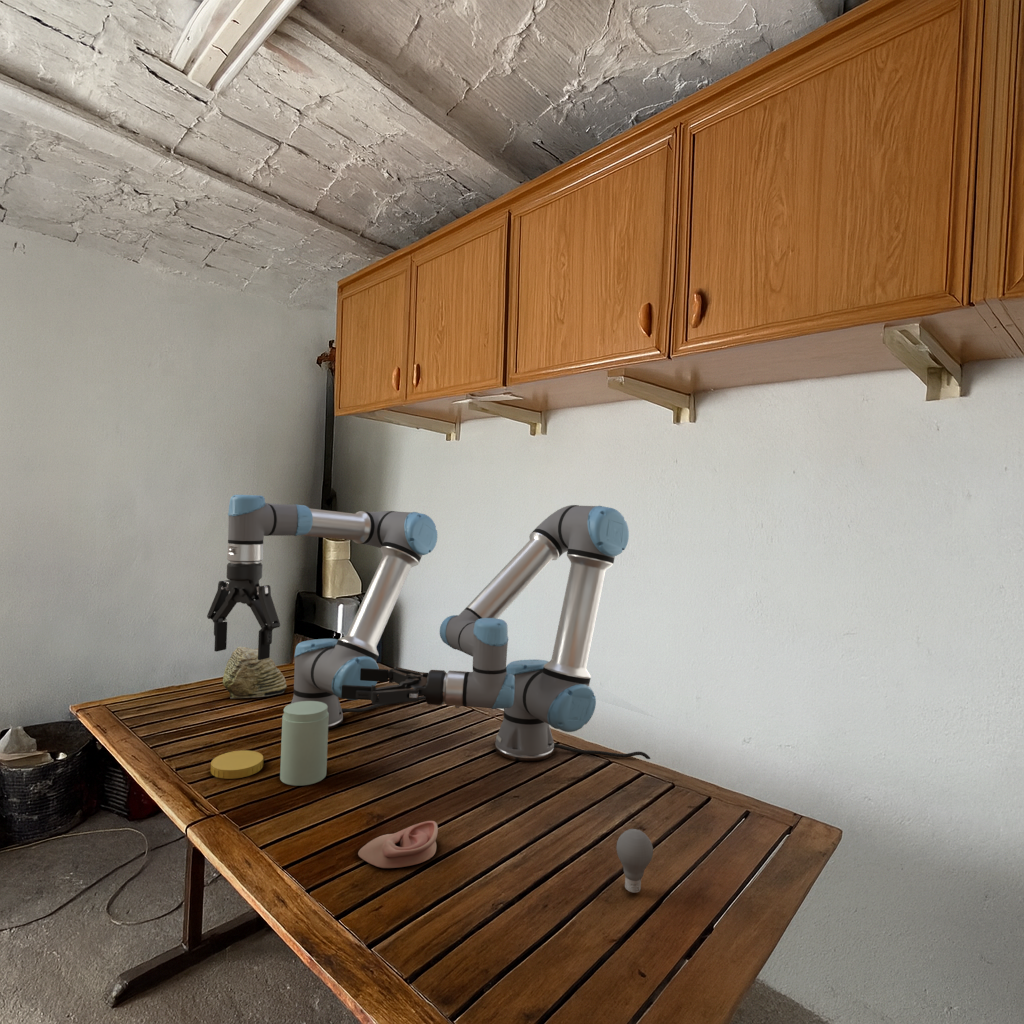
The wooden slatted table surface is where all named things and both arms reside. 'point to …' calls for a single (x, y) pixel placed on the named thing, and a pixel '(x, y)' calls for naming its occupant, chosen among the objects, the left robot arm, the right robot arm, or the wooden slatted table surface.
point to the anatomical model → (402, 846)
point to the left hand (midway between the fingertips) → (241, 654)
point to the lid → (236, 764)
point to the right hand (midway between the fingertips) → (351, 682)
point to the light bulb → (634, 857)
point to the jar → (304, 743)
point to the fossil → (252, 675)
